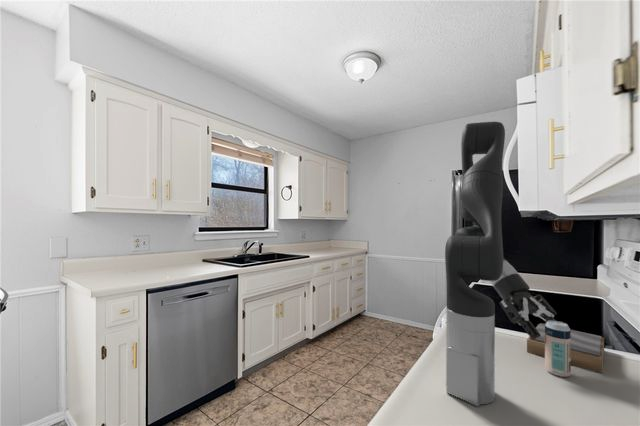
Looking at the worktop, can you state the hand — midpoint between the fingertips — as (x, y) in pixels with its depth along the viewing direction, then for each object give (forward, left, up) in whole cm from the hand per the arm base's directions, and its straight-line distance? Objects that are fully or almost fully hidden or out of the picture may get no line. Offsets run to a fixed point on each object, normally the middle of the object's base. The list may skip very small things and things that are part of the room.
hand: (549, 335), depth 71 cm
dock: (+16, -2, -8) cm, 18 cm away
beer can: (-1, -2, -8) cm, 9 cm away
